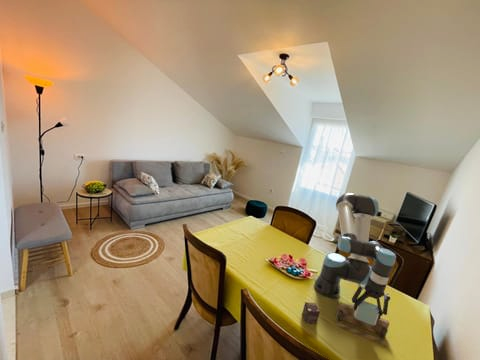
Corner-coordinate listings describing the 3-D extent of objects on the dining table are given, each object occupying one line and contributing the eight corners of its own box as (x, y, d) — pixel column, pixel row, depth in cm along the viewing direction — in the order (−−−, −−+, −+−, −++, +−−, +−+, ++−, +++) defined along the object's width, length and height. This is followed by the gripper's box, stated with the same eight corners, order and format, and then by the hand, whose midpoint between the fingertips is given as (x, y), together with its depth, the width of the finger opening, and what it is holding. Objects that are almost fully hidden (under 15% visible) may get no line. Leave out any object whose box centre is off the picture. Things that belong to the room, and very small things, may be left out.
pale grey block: (355, 318, 114) (360, 303, 112) (355, 313, 117) (359, 299, 115) (373, 325, 112) (378, 310, 109) (372, 320, 115) (377, 305, 113)
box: (313, 314, 121) (316, 303, 120) (316, 324, 116) (320, 312, 114) (301, 313, 121) (304, 301, 119) (305, 322, 115) (308, 310, 114)
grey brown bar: (336, 325, 117) (340, 312, 115) (336, 314, 124) (340, 302, 122) (387, 346, 109) (392, 333, 107) (383, 333, 116) (388, 320, 115)
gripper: (354, 276, 109) (342, 315, 114) (405, 293, 102) (389, 334, 108) (353, 268, 116) (341, 305, 121) (400, 283, 109) (385, 322, 114)
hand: (364, 318), depth 114 cm, fingers closed on pale grey block, 8 cm apart
